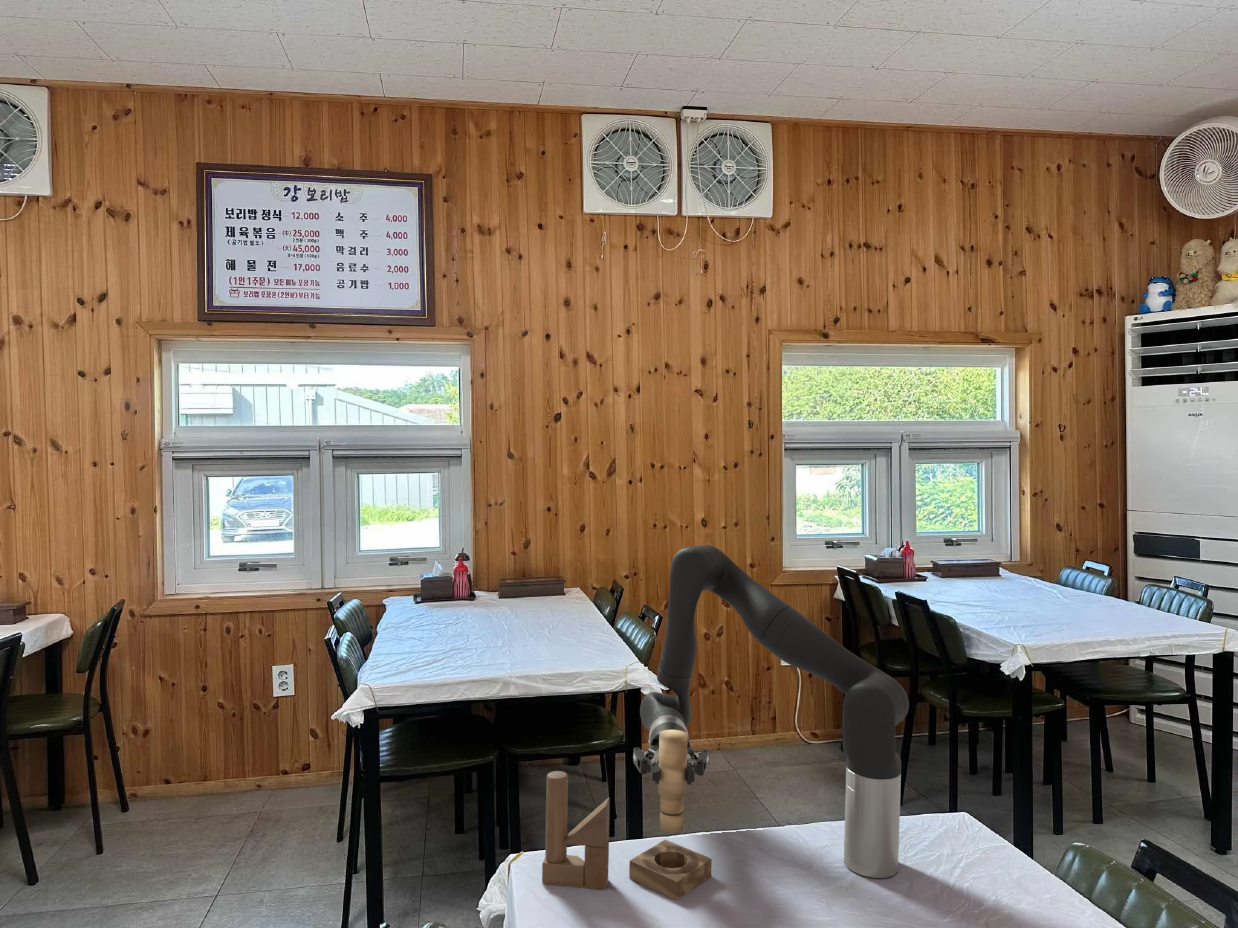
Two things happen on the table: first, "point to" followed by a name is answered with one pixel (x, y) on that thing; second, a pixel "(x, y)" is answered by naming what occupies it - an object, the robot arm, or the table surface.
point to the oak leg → (672, 778)
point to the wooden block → (574, 840)
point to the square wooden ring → (670, 869)
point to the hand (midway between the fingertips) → (673, 778)
